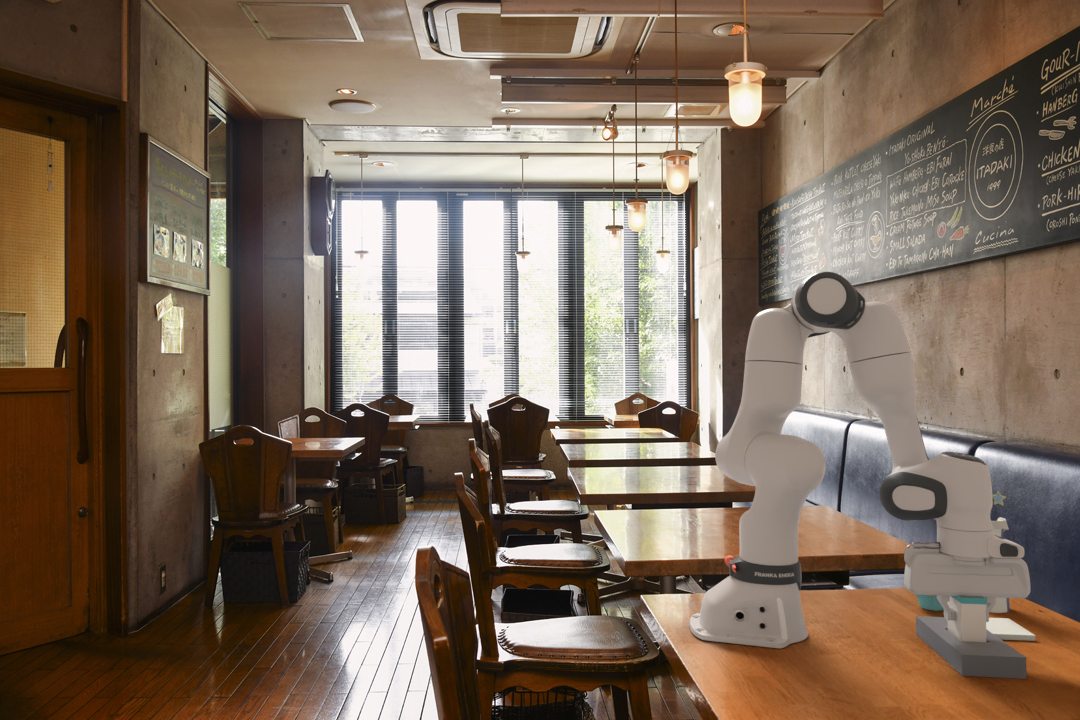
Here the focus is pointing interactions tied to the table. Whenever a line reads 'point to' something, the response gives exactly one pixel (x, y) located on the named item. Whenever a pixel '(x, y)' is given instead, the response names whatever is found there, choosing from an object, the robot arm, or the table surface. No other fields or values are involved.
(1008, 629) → the mat
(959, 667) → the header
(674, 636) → the table surface
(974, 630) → the plug
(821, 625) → the table surface
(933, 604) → the cupcake
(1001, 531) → the water bottle
